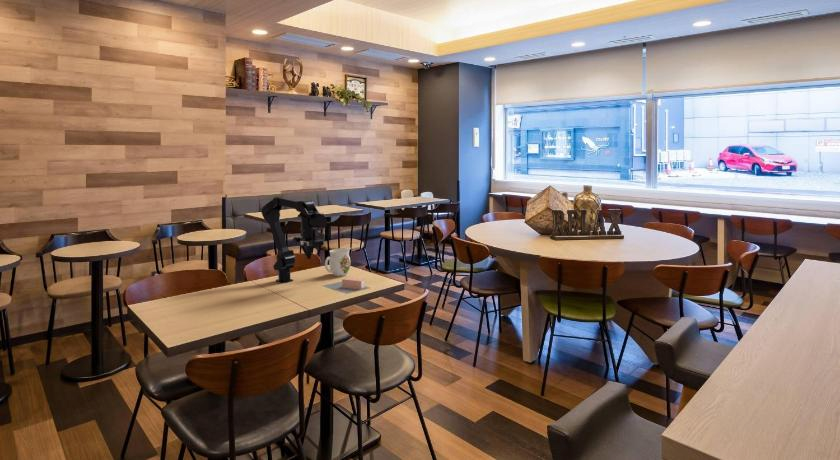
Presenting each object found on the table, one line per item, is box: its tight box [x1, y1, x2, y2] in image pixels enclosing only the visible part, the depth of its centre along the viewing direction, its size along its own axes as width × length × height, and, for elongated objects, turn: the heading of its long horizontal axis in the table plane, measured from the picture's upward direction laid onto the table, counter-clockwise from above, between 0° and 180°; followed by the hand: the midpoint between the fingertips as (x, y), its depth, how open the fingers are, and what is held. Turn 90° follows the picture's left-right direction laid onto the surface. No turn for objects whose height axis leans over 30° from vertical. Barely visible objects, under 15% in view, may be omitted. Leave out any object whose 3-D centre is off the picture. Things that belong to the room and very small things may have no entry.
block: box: [341, 276, 366, 289], centre depth 240 cm, size 4×4×10 cm
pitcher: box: [324, 246, 352, 277], centre depth 265 cm, size 11×18×14 cm, turn 142°
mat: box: [322, 281, 370, 295], centre depth 241 cm, size 20×14×1 cm
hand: (308, 258), depth 244 cm, fingers closed
